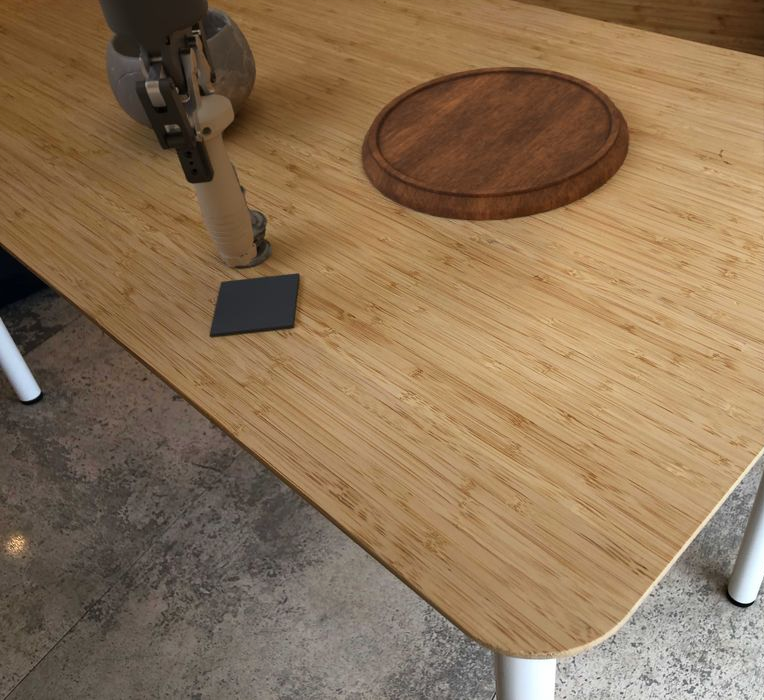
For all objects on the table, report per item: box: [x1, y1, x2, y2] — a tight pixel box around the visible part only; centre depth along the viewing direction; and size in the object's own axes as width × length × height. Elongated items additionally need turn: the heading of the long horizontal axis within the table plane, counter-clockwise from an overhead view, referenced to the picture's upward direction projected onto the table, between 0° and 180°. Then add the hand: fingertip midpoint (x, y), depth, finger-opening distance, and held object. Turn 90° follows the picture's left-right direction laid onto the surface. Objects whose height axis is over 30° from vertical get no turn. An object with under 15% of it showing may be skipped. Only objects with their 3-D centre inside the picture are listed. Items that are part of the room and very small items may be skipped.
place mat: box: [209, 272, 301, 338], centre depth 83 cm, size 8×8×1 cm
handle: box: [175, 94, 257, 268], centre depth 74 cm, size 5×6×15 cm
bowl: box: [105, 6, 257, 130], centre depth 108 cm, size 18×18×13 cm
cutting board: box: [361, 66, 630, 221], centre depth 101 cm, size 32×32×2 cm
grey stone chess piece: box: [223, 161, 273, 269], centre depth 86 cm, size 6×6×12 cm
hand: (207, 160), depth 72 cm, fingers closed on handle, 5 cm apart
